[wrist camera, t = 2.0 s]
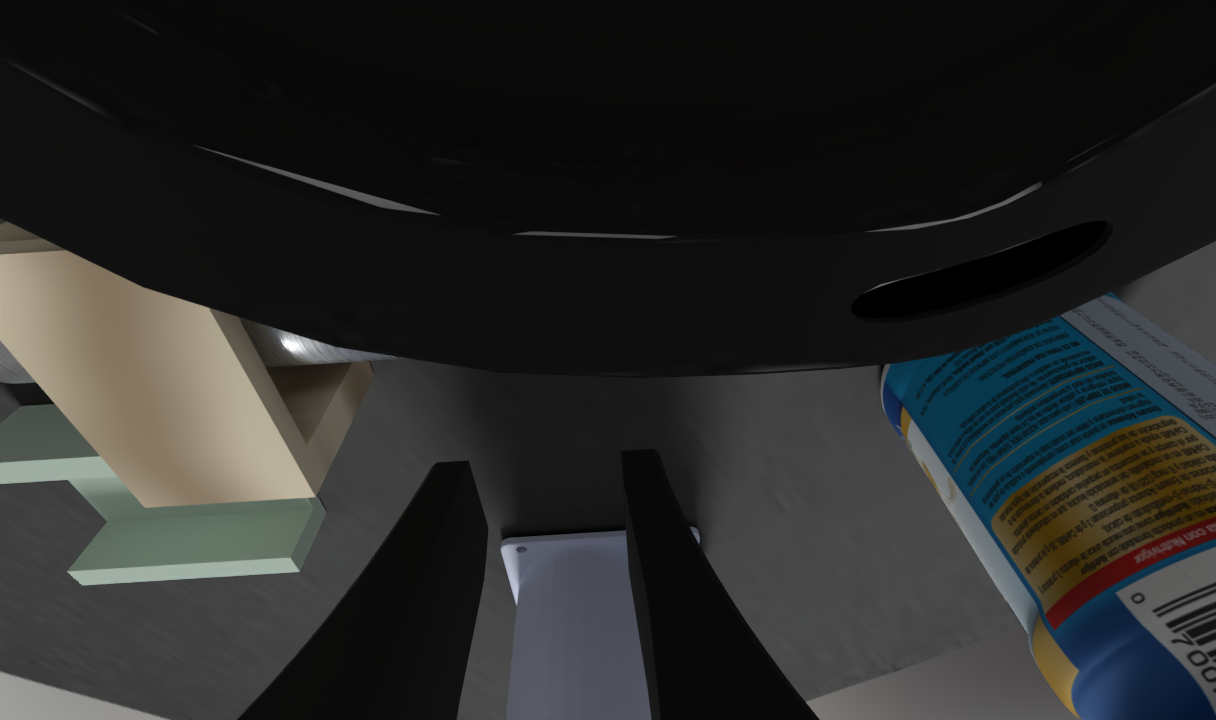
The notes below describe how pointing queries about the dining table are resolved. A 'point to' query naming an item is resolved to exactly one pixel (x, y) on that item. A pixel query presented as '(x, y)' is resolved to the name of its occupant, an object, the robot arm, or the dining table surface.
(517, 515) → the dining table surface
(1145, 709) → the beverage bottle
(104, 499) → the cradle
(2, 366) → the axle
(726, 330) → the coffee cup
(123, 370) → the wooden bridge block
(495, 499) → the dining table surface
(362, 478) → the dining table surface
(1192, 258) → the dining table surface
